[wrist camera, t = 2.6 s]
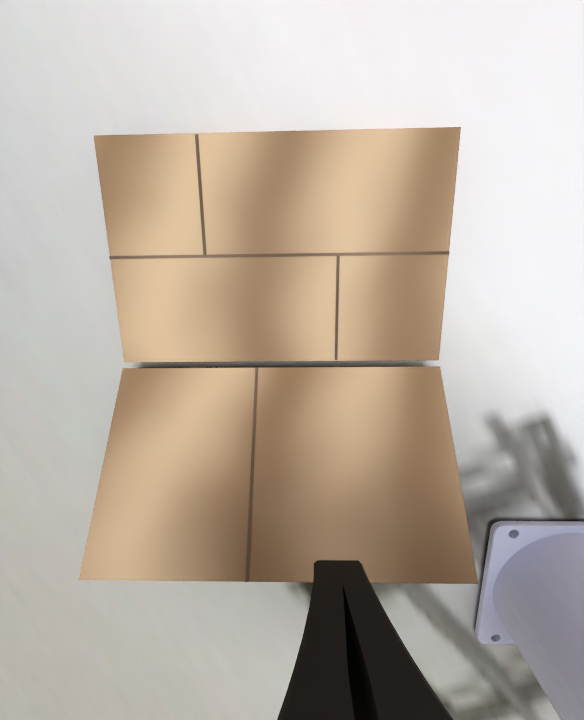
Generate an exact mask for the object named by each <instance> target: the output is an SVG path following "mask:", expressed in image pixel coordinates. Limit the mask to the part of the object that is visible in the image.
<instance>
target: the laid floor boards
mask: <svg viewBox="0 0 584 720" xmlns="http://www.w3.org/2000/svg"><path fill="white" fill-rule="evenodd" d="M460 130H461V127H447V128H404V129H361V130H318V131H274V132H231V133H188V134H145V135H102V136H94V141H95V149H96V156H97V164H98V171H99V178H100V186H101V193H102V201H103V208H104V216H105V223H106V230H107V238H108V245H109V253H110V256H109V257H110V260H111V268H112V275H113V282H114V290H115V297H116V305H117V312H118V319H119V327H120V334H121V342H122V349H123V357H124V362H234V361H392V360H439V351H440V340H441V330H442V319H443V309H444V298H445V288H446V277H447V267H448V256H449V246H450V235H451V225H452V214H453V204H454V193H455V183H456V172H457V162H458V151H459V141H460Z"/></svg>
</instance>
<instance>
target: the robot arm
mask: <svg viewBox="0 0 584 720" xmlns="http://www.w3.org/2000/svg"><path fill="white" fill-rule="evenodd" d="M512 530H513V531H512ZM510 531H512V532H510ZM509 532H510V533H509ZM475 635H476V637H477V639H478V640H479V642H481V643H483V644H511V645H516V646H517V647H518V649H519V651H520V652H521V654H522V656H523V657H524V659H525V661H526V662H527V664H528V666H529V667H530V669H531V671H532V672H533V674H534V676H535V677H536V679H537V681H538V682H539V684H540V686H541V687H542V689H543V691H544V692H545V694H546V696H547V697H548V699H549V701H550V702H551V704H552V706H553V707H554V709H555V711H556V712H557V714H558V716H559V717H560V719H561V720H584V522H582V521H499V522H496V523H494V524H493V525H492V527H491V529H490V536H489V542H488V549H487V555H486V562H485V569H484V575H483V582H482V588H481V595H480V602H479V608H478V615H477V621H476V628H475ZM277 720H453V718H452V717H451V716H450V714H449V713H448V711H447V710H446V709H445V707H444V706H443V704H442V703H441V701H440V700H439V698H438V697H437V695H436V694H435V693H434V691H433V690H432V688H431V687H430V685H429V684H428V682H427V681H426V679H425V677H424V676H423V674H422V673H421V671H420V670H419V668H418V666H417V665H416V663H415V662H414V660H413V659H412V657H411V655H410V654H409V652H408V650H407V649H406V647H405V646H404V644H403V642H402V640H401V639H400V637H399V635H398V634H397V632H396V630H395V628H394V627H393V625H392V623H391V621H390V620H389V618H388V616H387V614H386V613H385V611H384V609H383V607H382V605H381V603H380V601H379V599H378V597H377V595H376V594H375V592H374V590H373V588H372V585H371V583H370V581H369V579H368V577H367V575H366V573H365V570H364V568H363V565H362V563H360V562H359V561H358V560H317V561H316V562H315V563H314V578H313V588H312V595H311V601H310V607H309V611H308V616H307V620H306V625H305V629H304V634H303V638H302V642H301V645H300V649H299V652H298V656H297V660H296V663H295V667H294V670H293V674H292V677H291V680H290V683H289V686H288V690H287V693H286V696H285V699H284V702H283V705H282V708H281V710H280V713H279V716H278V719H277Z"/></svg>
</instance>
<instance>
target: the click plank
mask: <svg viewBox="0 0 584 720" xmlns="http://www.w3.org/2000/svg"><path fill="white" fill-rule="evenodd" d="M317 560H358V561H359V562H360V563H362V565H363V568H364V570H365V573H366V575H367V577H368V579H369V581H370V583H446V584H478V580H477V574H476V569H475V563H474V557H473V552H472V546H471V540H470V535H469V529H468V523H467V518H466V512H465V506H464V501H463V495H462V490H461V484H460V478H459V473H458V467H457V461H456V456H455V450H454V444H453V439H452V433H451V427H450V422H449V416H448V410H447V405H446V399H445V393H444V388H443V382H442V377H441V371H440V367H286V368H258V367H255V368H123V371H122V375H121V380H120V385H119V390H118V395H117V399H116V404H115V409H114V414H113V419H112V423H111V428H110V433H109V438H108V443H107V447H106V452H105V457H104V462H103V466H102V471H101V476H100V481H99V486H98V490H97V495H96V500H95V505H94V510H93V514H92V519H91V524H90V529H89V534H88V538H87V543H86V548H85V553H84V558H83V562H82V567H81V572H80V577H79V580H143V581H244V582H313V578H314V563H315V562H316V561H317Z"/></svg>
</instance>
